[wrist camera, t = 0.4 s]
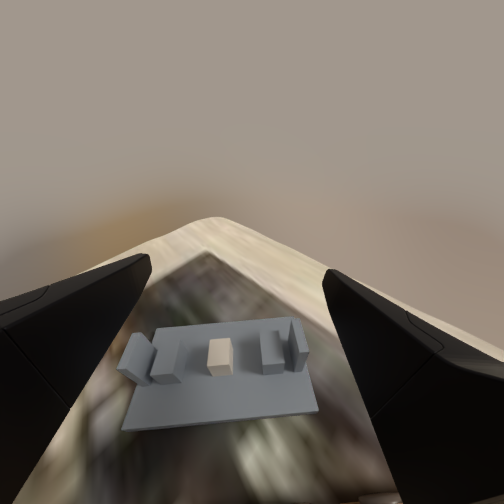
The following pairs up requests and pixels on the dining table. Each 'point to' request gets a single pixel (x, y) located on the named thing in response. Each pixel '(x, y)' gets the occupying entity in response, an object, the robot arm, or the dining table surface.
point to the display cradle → (218, 374)
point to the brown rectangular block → (376, 499)
